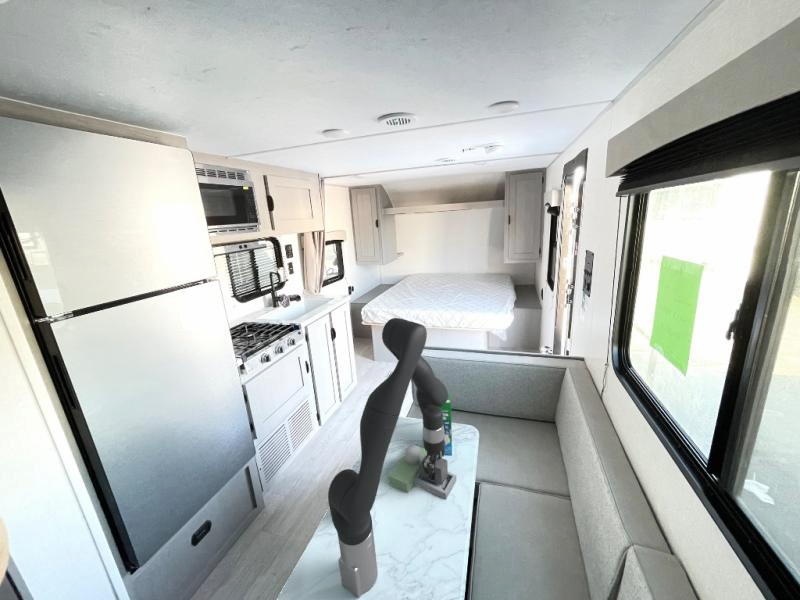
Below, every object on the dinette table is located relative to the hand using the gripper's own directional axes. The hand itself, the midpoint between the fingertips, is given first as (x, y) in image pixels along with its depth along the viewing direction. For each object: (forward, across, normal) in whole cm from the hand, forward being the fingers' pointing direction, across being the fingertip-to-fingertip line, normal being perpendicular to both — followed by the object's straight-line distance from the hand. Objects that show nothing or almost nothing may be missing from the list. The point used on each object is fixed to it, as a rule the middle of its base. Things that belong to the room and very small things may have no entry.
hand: (435, 473), depth 115 cm
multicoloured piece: (+4, 0, +4) cm, 6 cm away
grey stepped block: (+1, 0, +1) cm, 1 cm away
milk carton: (+4, +17, +6) cm, 19 cm away
